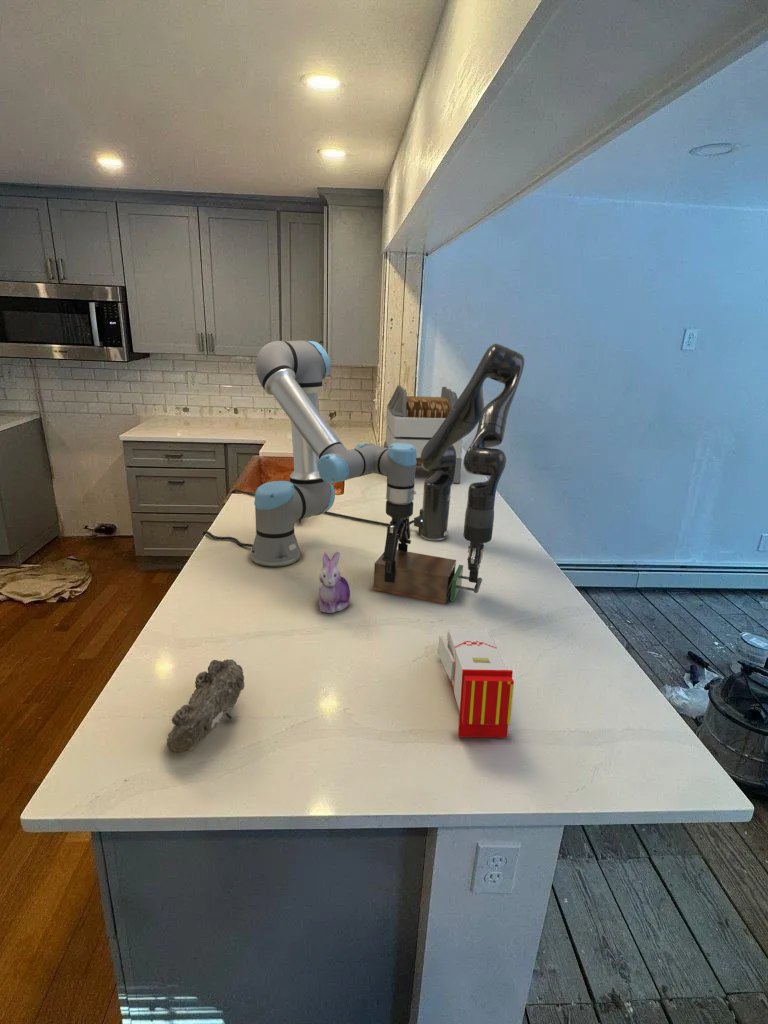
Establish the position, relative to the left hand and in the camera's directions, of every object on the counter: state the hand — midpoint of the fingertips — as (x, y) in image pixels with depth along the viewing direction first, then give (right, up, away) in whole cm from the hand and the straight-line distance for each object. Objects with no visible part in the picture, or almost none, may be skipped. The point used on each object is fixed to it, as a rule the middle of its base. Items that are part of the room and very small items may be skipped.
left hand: (395, 572), depth 162 cm
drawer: (+11, -4, -2) cm, 12 cm away
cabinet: (+5, -4, 0) cm, 7 cm away
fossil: (-36, -22, -54) cm, 68 cm away
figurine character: (-35, +15, +48) cm, 61 cm away
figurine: (-17, -7, -12) cm, 22 cm away
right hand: (+21, -2, -7) cm, 22 cm away
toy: (+15, -20, -43) cm, 50 cm away
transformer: (+14, +36, +113) cm, 119 cm away
